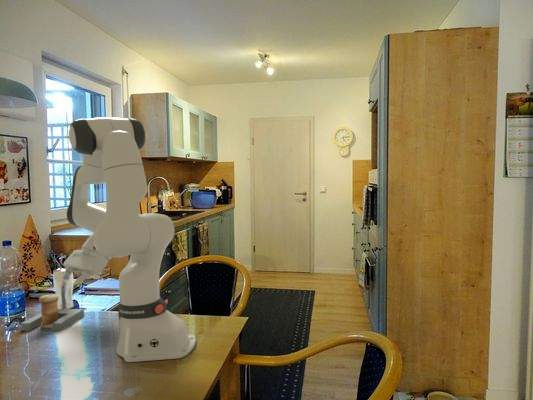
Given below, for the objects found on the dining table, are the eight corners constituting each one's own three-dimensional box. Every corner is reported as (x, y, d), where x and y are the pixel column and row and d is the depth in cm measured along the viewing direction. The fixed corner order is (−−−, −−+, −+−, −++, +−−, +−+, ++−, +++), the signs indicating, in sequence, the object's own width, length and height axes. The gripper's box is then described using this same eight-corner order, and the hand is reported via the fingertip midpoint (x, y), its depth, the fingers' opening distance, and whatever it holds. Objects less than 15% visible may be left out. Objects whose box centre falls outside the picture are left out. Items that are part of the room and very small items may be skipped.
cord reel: (63, 322, 138) (61, 294, 137) (53, 328, 132) (51, 299, 131) (48, 321, 138) (46, 294, 138) (37, 328, 132) (35, 299, 132)
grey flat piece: (84, 315, 143) (83, 309, 143) (60, 330, 130) (60, 323, 129) (48, 315, 145) (47, 309, 145) (21, 330, 131) (20, 323, 131)
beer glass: (62, 304, 157) (60, 267, 157) (78, 304, 156) (76, 267, 156) (51, 310, 151) (48, 272, 150) (67, 310, 150) (65, 272, 149)
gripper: (73, 243, 152) (49, 273, 145) (104, 246, 141) (79, 279, 133) (85, 252, 156) (62, 282, 149) (116, 256, 144) (92, 289, 137)
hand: (70, 281), depth 141 cm, fingers open, 8 cm apart
